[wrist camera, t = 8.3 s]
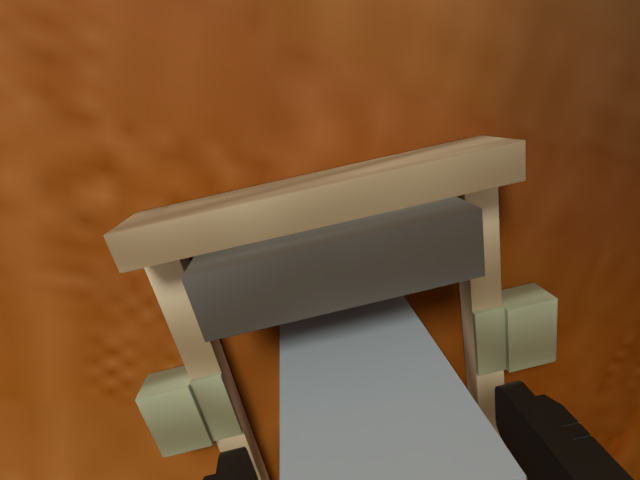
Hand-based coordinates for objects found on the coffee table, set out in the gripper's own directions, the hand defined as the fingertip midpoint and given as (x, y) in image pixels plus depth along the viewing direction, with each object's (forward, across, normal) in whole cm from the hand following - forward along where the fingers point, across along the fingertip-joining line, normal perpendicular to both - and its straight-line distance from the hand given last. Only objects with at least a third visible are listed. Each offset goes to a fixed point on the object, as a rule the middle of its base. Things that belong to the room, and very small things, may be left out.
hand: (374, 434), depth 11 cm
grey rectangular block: (+4, 0, 0) cm, 4 cm away
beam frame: (+4, 0, +3) cm, 5 cm away
